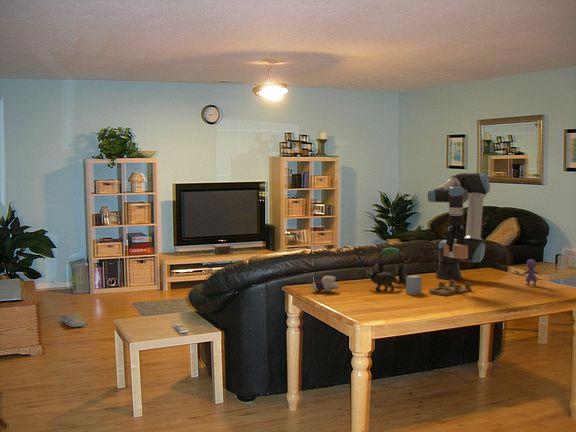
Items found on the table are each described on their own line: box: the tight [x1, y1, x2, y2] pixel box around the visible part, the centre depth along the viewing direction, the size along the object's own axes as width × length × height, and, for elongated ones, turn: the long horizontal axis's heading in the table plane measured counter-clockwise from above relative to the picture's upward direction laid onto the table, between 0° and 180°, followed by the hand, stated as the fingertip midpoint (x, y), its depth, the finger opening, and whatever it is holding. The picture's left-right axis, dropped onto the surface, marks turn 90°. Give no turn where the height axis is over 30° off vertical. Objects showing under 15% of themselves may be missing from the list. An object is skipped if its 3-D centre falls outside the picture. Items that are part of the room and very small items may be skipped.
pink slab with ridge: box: [444, 242, 468, 259], centre depth 362 cm, size 14×5×9 cm, turn 27°
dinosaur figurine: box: [365, 267, 406, 292], centre depth 366 cm, size 22×8×11 cm, turn 71°
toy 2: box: [513, 258, 549, 287], centre depth 375 cm, size 18×6×15 cm, turn 84°
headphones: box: [374, 247, 408, 283], centre depth 390 cm, size 19×11×20 cm, turn 80°
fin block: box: [405, 274, 423, 295], centre depth 358 cm, size 5×7×9 cm
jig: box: [428, 279, 473, 297], centre depth 360 cm, size 14×22×4 cm, turn 130°
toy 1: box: [310, 275, 340, 293], centre depth 362 cm, size 13×9×15 cm
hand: (455, 256), depth 362 cm, fingers closed on pink slab with ridge, 6 cm apart
